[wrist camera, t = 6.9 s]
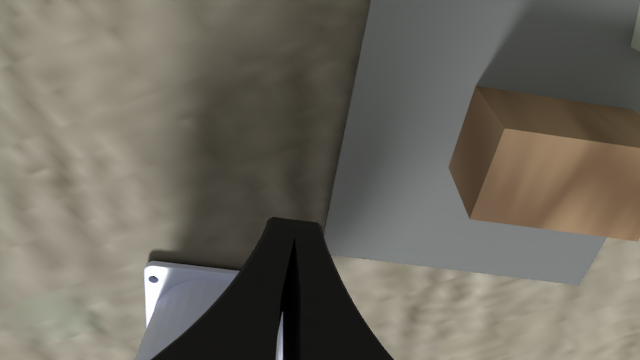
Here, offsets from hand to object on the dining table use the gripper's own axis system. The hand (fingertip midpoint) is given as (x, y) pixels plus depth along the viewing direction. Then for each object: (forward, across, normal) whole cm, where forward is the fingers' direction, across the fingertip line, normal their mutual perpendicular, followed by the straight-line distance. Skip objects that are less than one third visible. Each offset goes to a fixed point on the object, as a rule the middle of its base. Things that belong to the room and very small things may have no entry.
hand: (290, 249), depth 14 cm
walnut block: (+8, -7, 0) cm, 10 cm away
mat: (+10, -9, 0) cm, 13 cm away
